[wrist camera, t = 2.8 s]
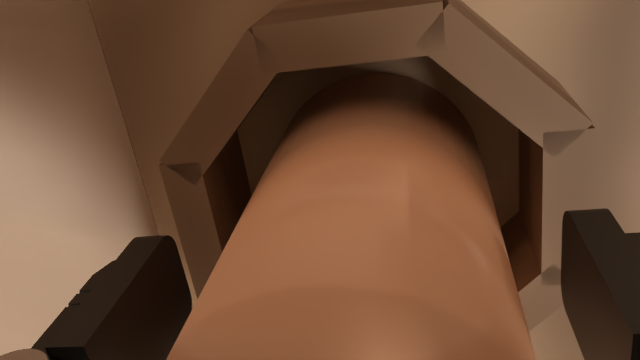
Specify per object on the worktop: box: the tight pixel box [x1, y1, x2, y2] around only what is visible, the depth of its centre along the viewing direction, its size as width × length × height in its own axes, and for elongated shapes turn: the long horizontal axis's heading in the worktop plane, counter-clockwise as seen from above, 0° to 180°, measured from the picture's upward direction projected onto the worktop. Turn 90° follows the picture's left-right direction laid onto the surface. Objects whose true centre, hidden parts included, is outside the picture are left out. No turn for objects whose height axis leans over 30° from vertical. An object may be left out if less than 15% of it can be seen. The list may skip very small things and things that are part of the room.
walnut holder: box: [87, 0, 640, 360], centre depth 15 cm, size 14×14×4 cm
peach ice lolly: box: [166, 73, 536, 360], centre depth 13 cm, size 9×6×9 cm, turn 8°
